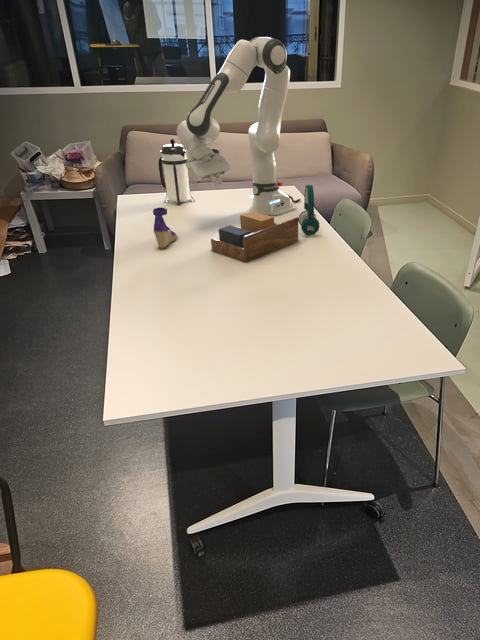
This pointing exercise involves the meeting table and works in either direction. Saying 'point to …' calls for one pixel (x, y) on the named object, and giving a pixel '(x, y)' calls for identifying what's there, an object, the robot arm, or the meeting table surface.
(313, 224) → the headphones
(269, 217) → the tan stepped block
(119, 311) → the meeting table surface
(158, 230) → the purple and beige piece
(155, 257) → the meeting table surface
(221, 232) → the dark grey block
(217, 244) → the wooden corner tray
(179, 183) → the coffee press
